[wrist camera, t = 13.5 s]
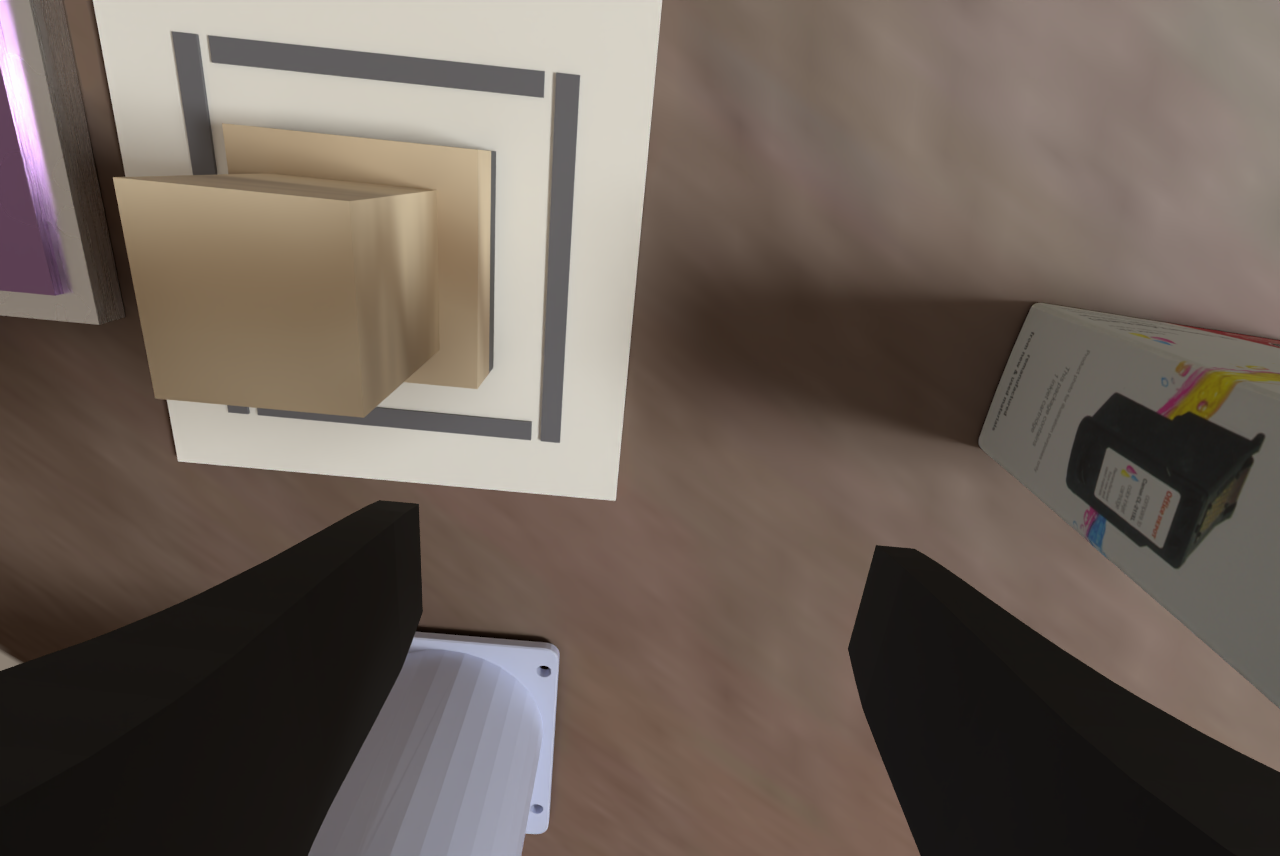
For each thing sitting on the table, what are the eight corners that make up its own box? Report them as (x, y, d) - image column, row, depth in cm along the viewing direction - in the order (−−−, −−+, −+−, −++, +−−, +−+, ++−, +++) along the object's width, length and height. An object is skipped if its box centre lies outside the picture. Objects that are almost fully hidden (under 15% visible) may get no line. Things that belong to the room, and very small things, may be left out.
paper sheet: (615, 496, 22) (615, 502, 21) (184, 457, 21) (175, 462, 21) (662, -1, 16) (662, -5, 16) (90, -65, 16) (76, -70, 16)
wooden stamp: (493, 367, 20) (417, 468, 13) (291, 348, 19) (112, 441, 13) (496, 151, 17) (405, 143, 11) (267, 127, 17) (38, 105, 11)
